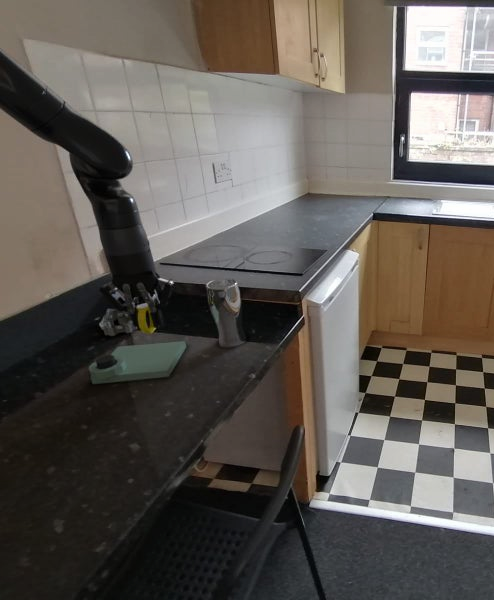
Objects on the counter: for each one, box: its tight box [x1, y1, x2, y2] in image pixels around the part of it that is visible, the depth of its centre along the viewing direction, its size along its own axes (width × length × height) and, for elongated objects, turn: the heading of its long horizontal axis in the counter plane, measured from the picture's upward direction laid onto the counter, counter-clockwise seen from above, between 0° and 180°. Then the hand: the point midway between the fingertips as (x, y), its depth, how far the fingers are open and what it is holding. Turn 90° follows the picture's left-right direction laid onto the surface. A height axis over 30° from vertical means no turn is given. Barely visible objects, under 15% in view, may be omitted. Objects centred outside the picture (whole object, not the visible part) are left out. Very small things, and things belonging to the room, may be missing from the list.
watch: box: [136, 302, 157, 335], centre depth 84 cm, size 6×3×6 cm, turn 12°
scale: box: [88, 341, 187, 385], centre depth 85 cm, size 14×13×4 cm
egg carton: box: [98, 308, 138, 337], centre depth 102 cm, size 11×8×4 cm
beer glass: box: [205, 277, 247, 348], centre depth 92 cm, size 7×7×15 cm
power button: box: [95, 354, 116, 369], centre depth 80 cm, size 3×3×2 cm
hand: (149, 326), depth 85 cm, fingers closed on watch, 2 cm apart
